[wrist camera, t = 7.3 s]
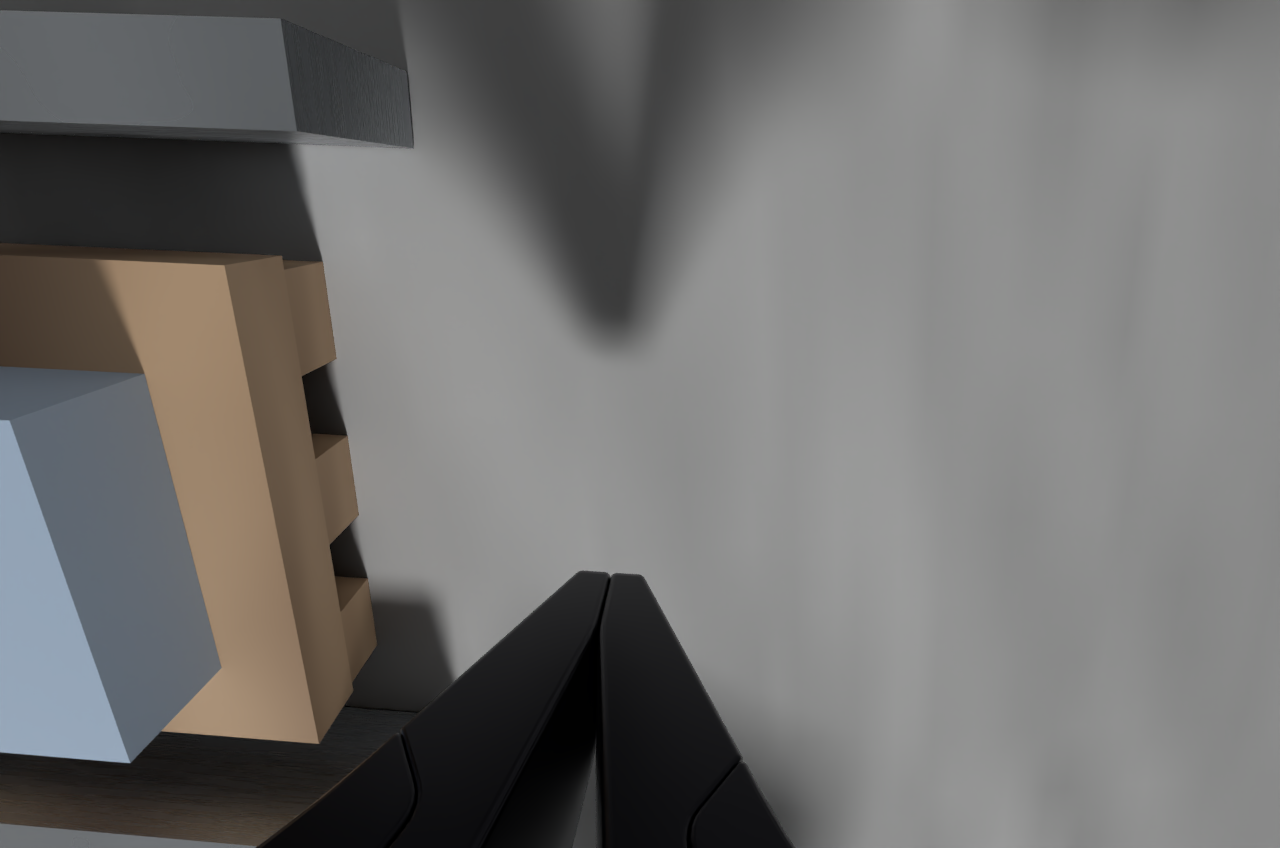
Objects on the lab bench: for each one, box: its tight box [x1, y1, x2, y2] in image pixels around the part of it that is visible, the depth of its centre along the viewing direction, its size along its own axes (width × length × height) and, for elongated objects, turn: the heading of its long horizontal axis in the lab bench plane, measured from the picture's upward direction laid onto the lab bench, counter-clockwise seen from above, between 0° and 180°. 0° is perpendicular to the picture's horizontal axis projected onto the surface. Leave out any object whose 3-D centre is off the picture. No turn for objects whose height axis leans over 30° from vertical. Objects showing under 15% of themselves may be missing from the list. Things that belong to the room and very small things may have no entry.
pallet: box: [0, 243, 377, 744], centre depth 11 cm, size 8×8×2 cm
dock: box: [0, 10, 418, 848], centre depth 10 cm, size 12×13×3 cm
